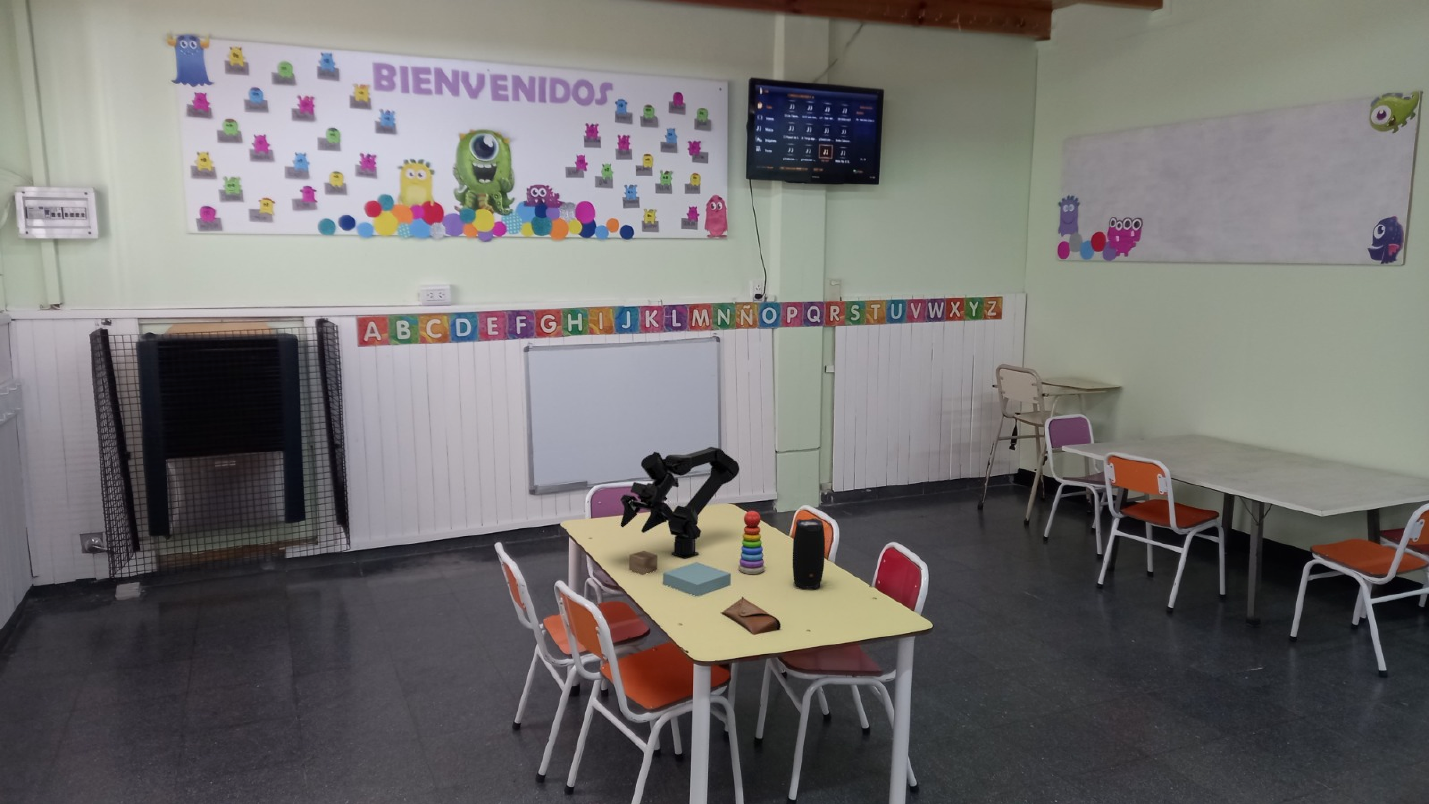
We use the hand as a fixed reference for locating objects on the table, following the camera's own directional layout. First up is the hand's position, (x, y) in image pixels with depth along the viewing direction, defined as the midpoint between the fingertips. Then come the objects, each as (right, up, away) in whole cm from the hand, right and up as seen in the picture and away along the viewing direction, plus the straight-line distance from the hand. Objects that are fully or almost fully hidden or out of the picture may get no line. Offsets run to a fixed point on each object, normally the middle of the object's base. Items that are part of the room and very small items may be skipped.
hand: (631, 529), depth 285 cm
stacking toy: (+36, -14, +6) cm, 39 cm away
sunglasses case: (+34, -21, -33) cm, 52 cm away
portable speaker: (+52, -16, -6) cm, 55 cm away
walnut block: (+3, -13, +4) cm, 14 cm away
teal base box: (+20, -16, -7) cm, 26 cm away
